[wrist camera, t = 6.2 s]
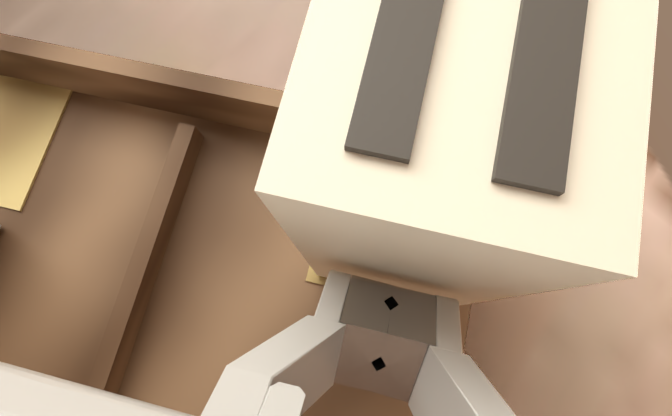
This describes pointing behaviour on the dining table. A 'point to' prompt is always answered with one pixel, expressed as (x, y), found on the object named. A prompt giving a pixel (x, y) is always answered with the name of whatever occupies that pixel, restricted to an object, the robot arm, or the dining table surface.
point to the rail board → (144, 229)
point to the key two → (466, 143)
